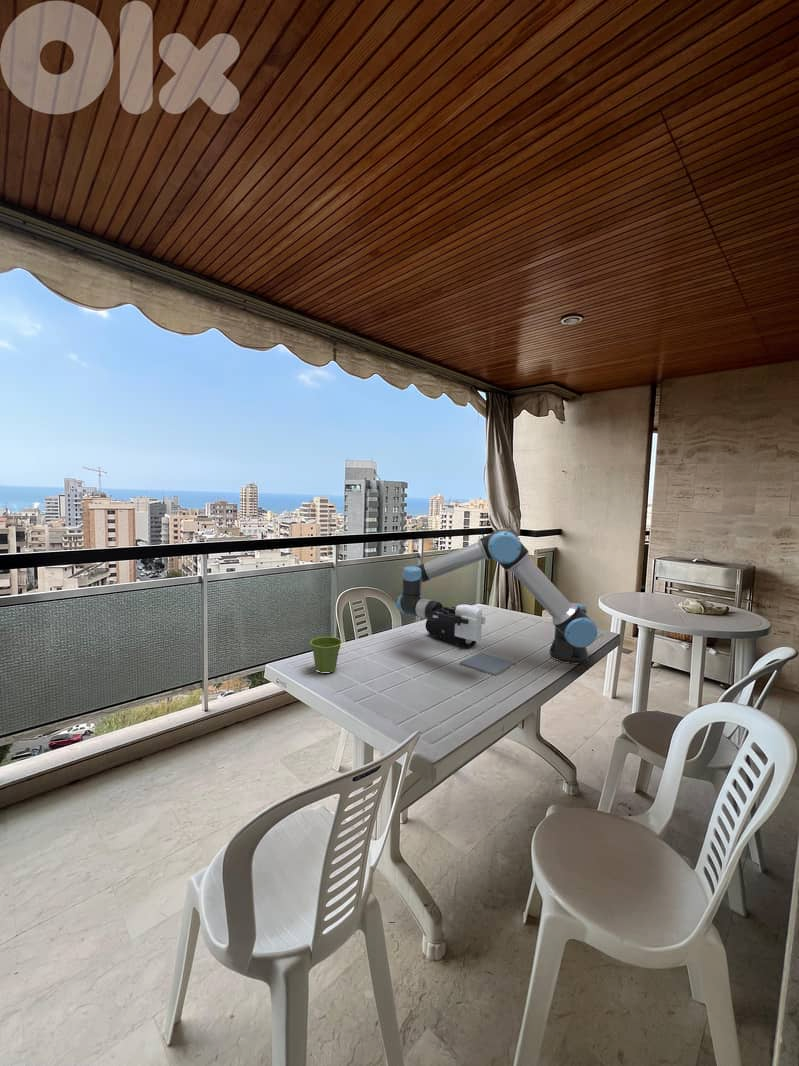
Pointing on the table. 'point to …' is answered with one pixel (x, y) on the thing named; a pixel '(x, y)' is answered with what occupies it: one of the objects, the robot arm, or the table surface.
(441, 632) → the portable speaker
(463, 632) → the photo printer
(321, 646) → the plant pot
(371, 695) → the table surface
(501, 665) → the rubber mat
